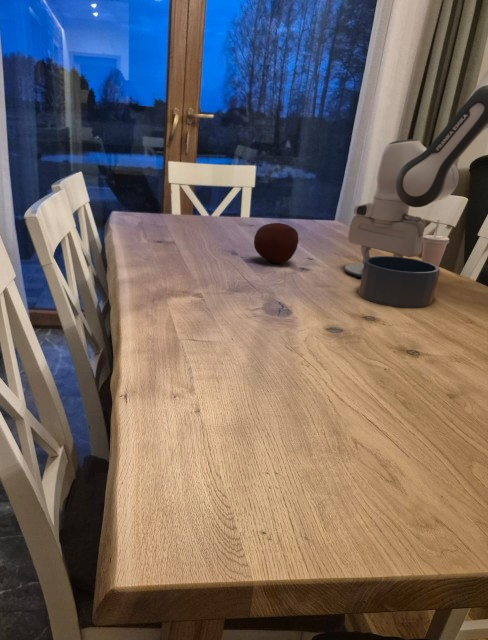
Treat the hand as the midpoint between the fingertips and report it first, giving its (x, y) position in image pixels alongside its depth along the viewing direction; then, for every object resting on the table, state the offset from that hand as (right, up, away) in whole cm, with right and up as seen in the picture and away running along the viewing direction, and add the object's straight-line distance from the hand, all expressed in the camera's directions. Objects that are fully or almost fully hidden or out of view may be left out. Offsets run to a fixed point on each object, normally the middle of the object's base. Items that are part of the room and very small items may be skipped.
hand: (378, 267), depth 147 cm
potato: (-26, +3, +8) cm, 27 cm away
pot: (-2, -11, -18) cm, 21 cm away
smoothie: (+14, -1, +4) cm, 14 cm away
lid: (0, -1, +1) cm, 1 cm away
